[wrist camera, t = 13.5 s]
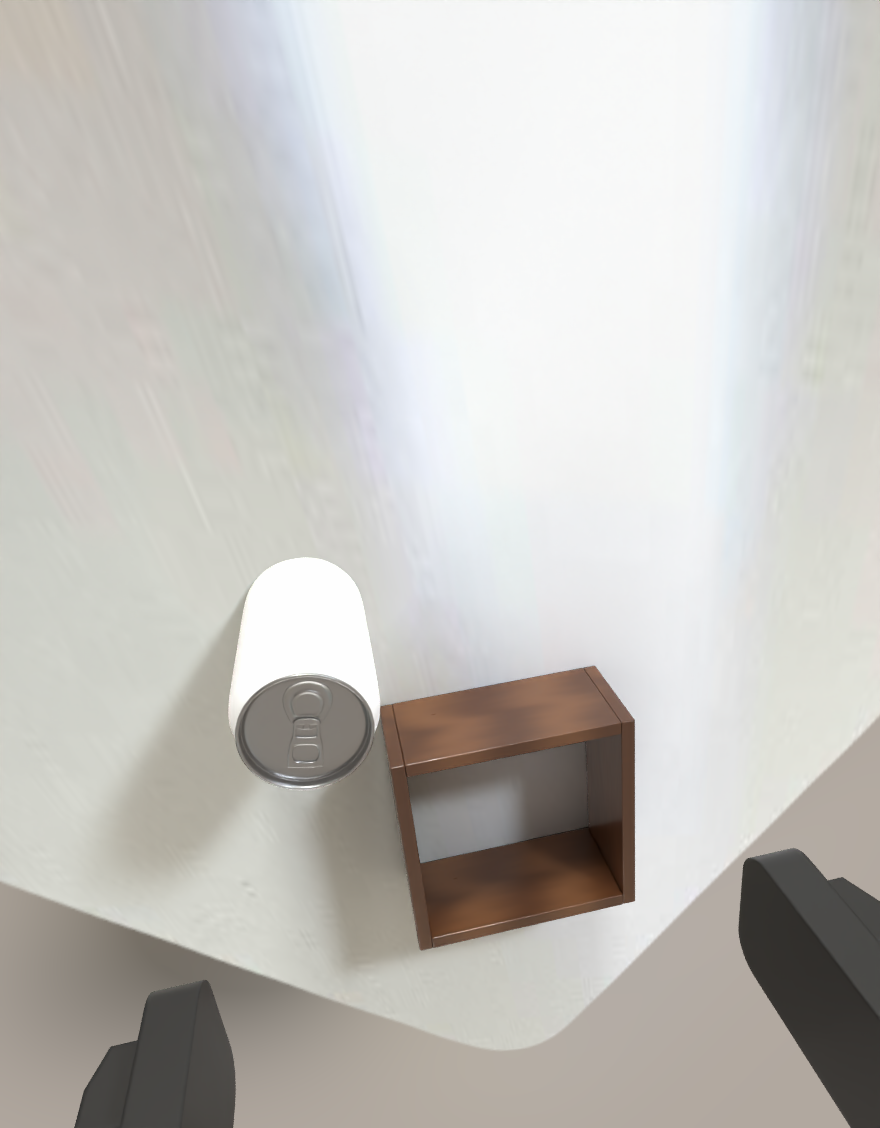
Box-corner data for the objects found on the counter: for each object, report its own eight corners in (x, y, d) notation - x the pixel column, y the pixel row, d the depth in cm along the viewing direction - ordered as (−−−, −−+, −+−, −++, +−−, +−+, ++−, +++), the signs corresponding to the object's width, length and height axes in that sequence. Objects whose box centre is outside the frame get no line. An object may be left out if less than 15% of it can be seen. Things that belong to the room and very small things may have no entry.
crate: (406, 875, 50) (420, 951, 44) (378, 706, 44) (389, 769, 39) (599, 833, 51) (635, 901, 46) (595, 665, 46) (635, 719, 40)
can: (366, 555, 40) (390, 664, 29) (359, 659, 43) (380, 796, 32) (244, 552, 39) (222, 664, 28) (244, 660, 41) (224, 801, 31)
